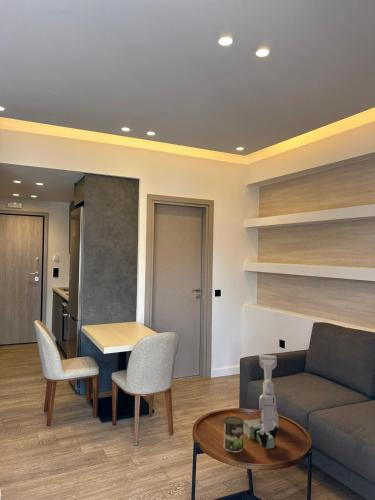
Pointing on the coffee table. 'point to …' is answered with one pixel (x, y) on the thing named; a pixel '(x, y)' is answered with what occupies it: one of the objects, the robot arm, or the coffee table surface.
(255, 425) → the housing
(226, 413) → the coffee table surface
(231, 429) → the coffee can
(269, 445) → the end cover
